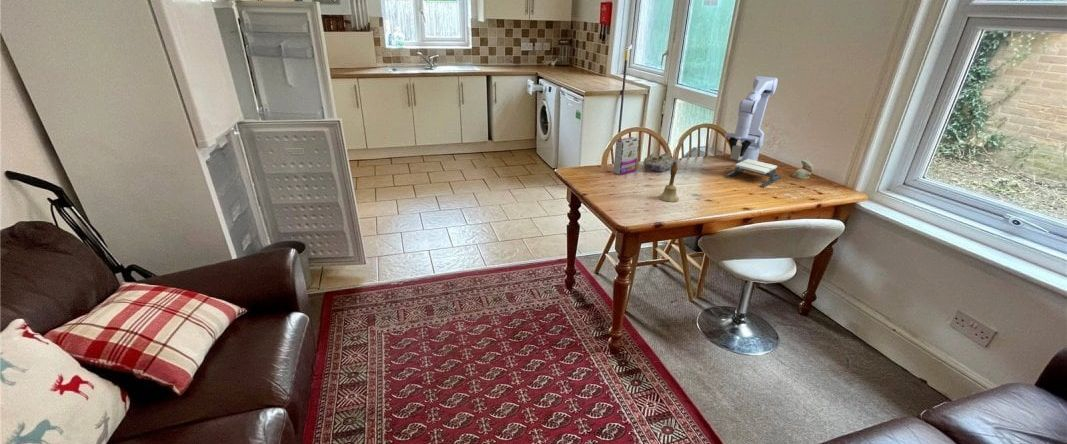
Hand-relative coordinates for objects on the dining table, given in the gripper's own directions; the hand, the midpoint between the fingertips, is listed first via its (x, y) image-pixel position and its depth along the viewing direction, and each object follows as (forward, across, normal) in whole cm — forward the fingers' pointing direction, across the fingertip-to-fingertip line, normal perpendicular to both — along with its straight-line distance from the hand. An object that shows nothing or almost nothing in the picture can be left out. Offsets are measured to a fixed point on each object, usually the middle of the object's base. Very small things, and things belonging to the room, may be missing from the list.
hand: (736, 154), depth 218 cm
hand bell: (+11, -3, -50) cm, 52 cm away
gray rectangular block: (+2, 0, 0) cm, 2 cm away
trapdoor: (+4, +8, +5) cm, 10 cm away
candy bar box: (+11, -36, -38) cm, 54 cm away
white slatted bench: (+10, +8, +5) cm, 14 cm away
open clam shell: (+11, +23, +25) cm, 35 cm away
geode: (+11, -29, -21) cm, 37 cm away
